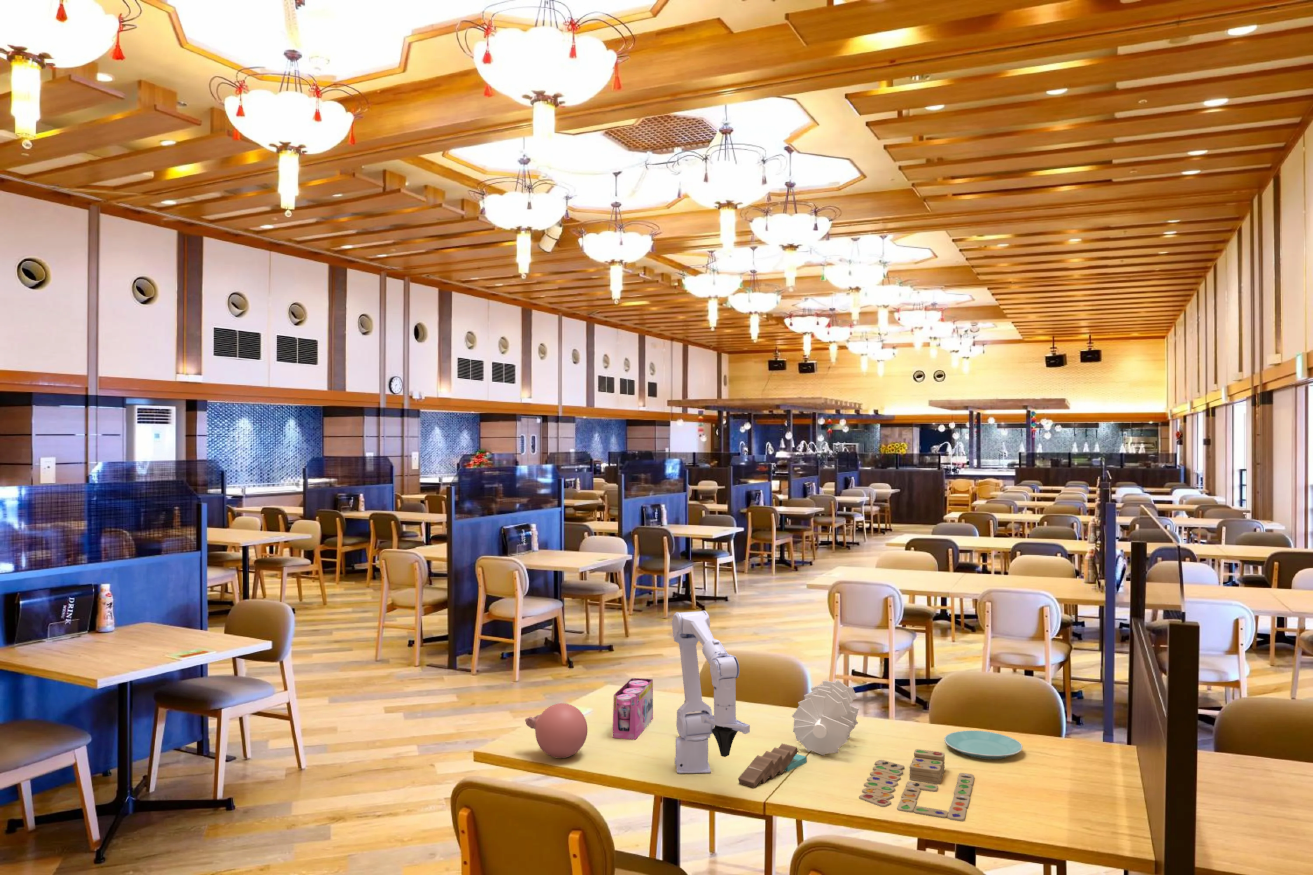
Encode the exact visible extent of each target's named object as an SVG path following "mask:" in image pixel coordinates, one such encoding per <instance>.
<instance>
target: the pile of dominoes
mask: <svg viewBox="0 0 1313 875" xmlns="http://www.w3.org/2000/svg"><path fill="white" fill-rule="evenodd" d="M913 755H914V757H913V758H912V760H911V763H910V764H909V774H908V776H909V781H907V782H906V783H905V787H904V789H903V791H902V794H901V795H900V800H899V802H898V804H897V807H896V810H897V811H899V812H905V813H913V814H915V815H921V816H922V815H923V816H926V817H927V816H928V817H933V818H940V819H948V820H949V821H957V822H966V821H965V820H966V815H967V810H968V809H969V806H970V802H971V795H972V792H973V787H974V784H975V783H974V782H975V775H974V774H973V773H965V772H960V773H958V777H957V781H956V785H955V788H954V792H953V797H952V801H951V804H950V805H949V809H948V810H945V809H940V808H932V807H927V806H920V805H917V804H918V799H919V796H920V794H921V792H922V791H924V792H930V793H937V792H938V790H939V785H941V781H942V779H943V775H944V773H945V765H946V764H945V762H946V761H945V760H946V759H945V758H946V757H945V756H946V754H945V752H943V751H936V750H930V749H929V750H927V749H921V748H920V749H919V748H917V749H915V750H914V752H913ZM903 770H905V766H904V765H903V764H899V763H896V762H891V761H887V760H884V759H878V760H876V761H875V762H874V766H873V767H872V771H871V772H870V773H869V777H867V778H866V782H865V783H863V786H864V788H863V789H862V790H861V793H862V794H860V795H859V796H858V799H859V800H861V801H864V802H865V803H866V802H867V803H869V804H873V805H874V806H877V807H880V808H886V807H889V806H891V805H892V801H890V800H892V799H894V797H895V795H894V794H893V793H895V792H896V787H897V786H899V783H898V781H901V780H902V778H901V777H902V776H903V775H904V771H903Z"/></svg>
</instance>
